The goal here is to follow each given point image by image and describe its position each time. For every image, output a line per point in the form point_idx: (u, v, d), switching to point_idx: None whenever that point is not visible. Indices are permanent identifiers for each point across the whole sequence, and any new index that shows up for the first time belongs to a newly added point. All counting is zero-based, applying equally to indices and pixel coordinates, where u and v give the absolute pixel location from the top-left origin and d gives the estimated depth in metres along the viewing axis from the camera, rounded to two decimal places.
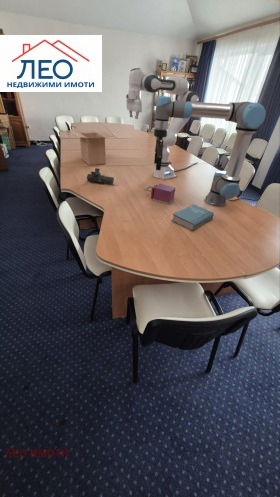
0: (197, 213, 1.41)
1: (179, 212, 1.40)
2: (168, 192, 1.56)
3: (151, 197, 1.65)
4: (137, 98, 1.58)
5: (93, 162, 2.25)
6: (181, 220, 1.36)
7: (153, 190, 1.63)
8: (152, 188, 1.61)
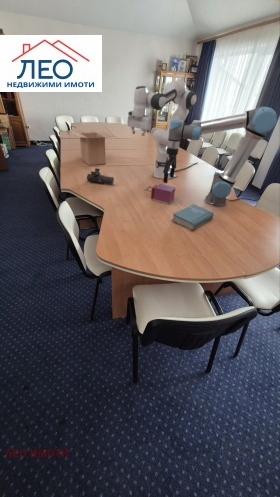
0: (197, 213, 1.41)
1: (179, 212, 1.40)
2: (168, 192, 1.56)
3: (151, 197, 1.65)
4: (145, 116, 1.57)
5: (93, 162, 2.25)
6: (181, 220, 1.36)
7: (153, 190, 1.63)
8: (152, 188, 1.61)
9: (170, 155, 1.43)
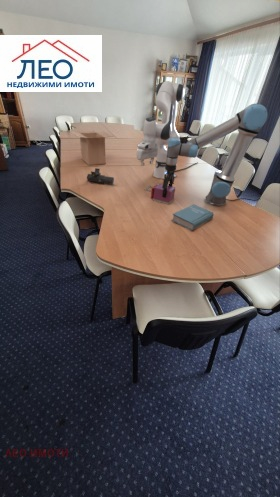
0: (197, 213, 1.41)
1: (179, 212, 1.40)
2: (168, 192, 1.56)
3: (151, 197, 1.65)
4: None
5: (93, 162, 2.25)
6: (181, 220, 1.36)
7: (153, 190, 1.63)
8: (152, 188, 1.61)
9: (168, 171, 1.50)
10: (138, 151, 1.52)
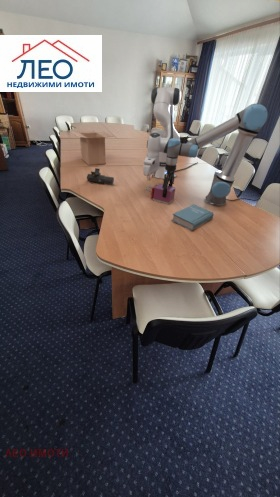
0: (197, 213, 1.41)
1: (179, 212, 1.40)
2: (168, 192, 1.56)
3: (151, 197, 1.65)
4: None
5: (93, 162, 2.25)
6: (181, 220, 1.36)
7: (153, 190, 1.63)
8: (152, 188, 1.61)
9: (168, 171, 1.50)
10: (145, 167, 1.50)
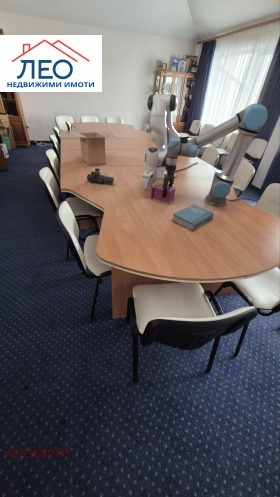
0: (197, 213, 1.41)
1: (179, 212, 1.40)
2: (168, 192, 1.56)
3: (151, 197, 1.65)
4: None
5: (93, 162, 2.25)
6: (181, 220, 1.36)
7: (153, 190, 1.63)
8: (152, 188, 1.61)
9: (168, 171, 1.50)
10: (143, 181, 1.56)
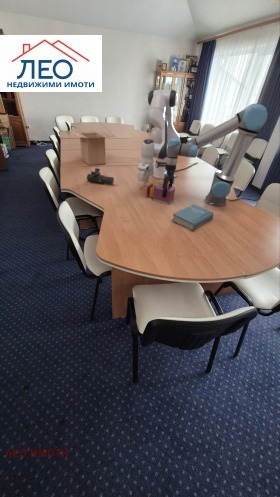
0: (197, 213, 1.41)
1: (179, 212, 1.40)
2: (168, 192, 1.56)
3: (146, 196, 1.67)
4: None
5: (93, 162, 2.25)
6: (181, 220, 1.36)
7: (148, 189, 1.64)
8: (147, 187, 1.62)
9: (168, 171, 1.50)
10: (139, 173, 1.54)
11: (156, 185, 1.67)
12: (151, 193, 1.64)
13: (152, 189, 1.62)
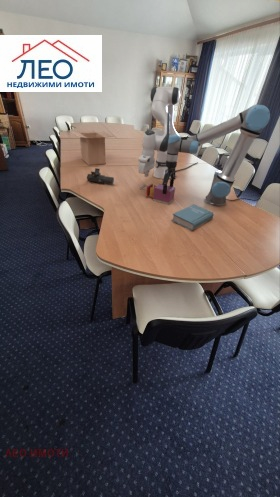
0: (197, 213, 1.41)
1: (179, 212, 1.40)
2: (168, 192, 1.56)
3: (146, 196, 1.67)
4: None
5: (93, 162, 2.25)
6: (181, 220, 1.36)
7: (148, 189, 1.64)
8: (147, 187, 1.62)
9: (169, 168, 1.48)
10: (140, 165, 1.51)
11: (156, 185, 1.67)
12: (151, 193, 1.64)
13: (152, 189, 1.62)
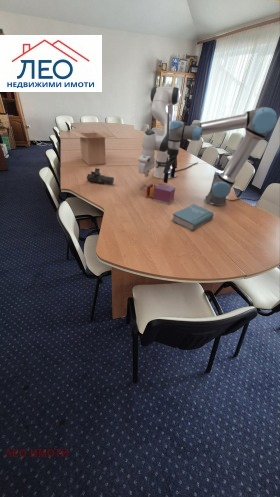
0: (197, 213, 1.41)
1: (179, 212, 1.40)
2: (168, 192, 1.56)
3: (146, 196, 1.67)
4: None
5: (93, 162, 2.25)
6: (181, 220, 1.36)
7: (148, 189, 1.64)
8: (147, 187, 1.62)
9: (170, 155, 1.44)
10: (140, 165, 1.51)
11: (156, 185, 1.67)
12: (151, 193, 1.64)
13: (152, 189, 1.62)
